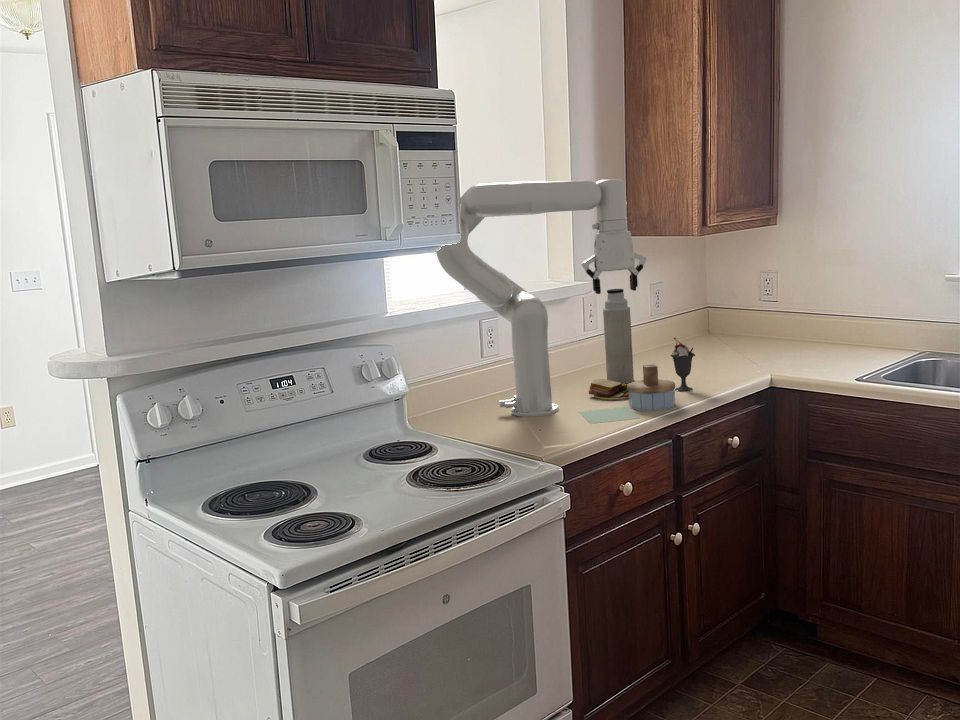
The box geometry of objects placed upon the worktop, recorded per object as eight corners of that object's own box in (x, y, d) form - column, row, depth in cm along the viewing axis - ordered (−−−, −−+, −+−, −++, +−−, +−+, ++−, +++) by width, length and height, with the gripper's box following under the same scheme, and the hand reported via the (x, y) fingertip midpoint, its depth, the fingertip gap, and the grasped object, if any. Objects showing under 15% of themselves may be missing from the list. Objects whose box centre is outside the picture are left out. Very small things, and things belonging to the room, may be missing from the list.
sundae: (667, 389, 251) (664, 337, 249) (687, 385, 253) (685, 334, 251) (679, 393, 245) (677, 340, 242) (700, 389, 247) (698, 337, 244)
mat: (590, 425, 220) (590, 423, 220) (578, 413, 233) (578, 411, 232) (641, 419, 221) (641, 417, 221) (626, 408, 234) (626, 406, 234)
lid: (635, 395, 225) (633, 372, 224) (621, 386, 238) (620, 364, 236) (682, 390, 227) (681, 367, 226) (666, 381, 239) (665, 359, 238)
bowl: (637, 413, 227) (636, 395, 226) (624, 404, 238) (623, 386, 237) (680, 409, 228) (679, 390, 227) (666, 399, 239) (665, 381, 238)
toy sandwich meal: (621, 404, 239) (620, 387, 238) (582, 400, 248) (580, 383, 247) (647, 395, 248) (646, 378, 247) (608, 390, 257) (607, 374, 256)
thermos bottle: (634, 378, 269) (629, 286, 264) (633, 383, 262) (628, 289, 257) (607, 379, 271) (602, 288, 266) (606, 384, 263) (600, 291, 258)
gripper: (583, 230, 227) (587, 296, 230) (648, 224, 229) (651, 290, 232) (576, 229, 235) (580, 293, 238) (639, 223, 236) (642, 287, 239)
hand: (615, 291), depth 235 cm, fingers open, 9 cm apart
